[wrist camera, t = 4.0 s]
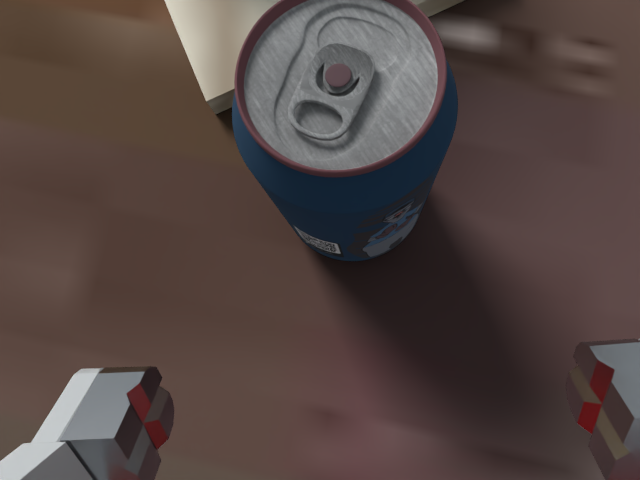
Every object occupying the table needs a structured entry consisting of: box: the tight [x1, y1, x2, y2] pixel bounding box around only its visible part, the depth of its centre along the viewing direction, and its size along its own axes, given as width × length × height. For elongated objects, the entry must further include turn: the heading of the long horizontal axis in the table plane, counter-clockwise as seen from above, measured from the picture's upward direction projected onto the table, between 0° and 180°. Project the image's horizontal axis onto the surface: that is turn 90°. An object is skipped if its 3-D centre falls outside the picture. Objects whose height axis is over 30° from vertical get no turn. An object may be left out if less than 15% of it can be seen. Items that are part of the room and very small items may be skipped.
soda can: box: [232, 0, 458, 261], centre depth 18 cm, size 7×7×12 cm
